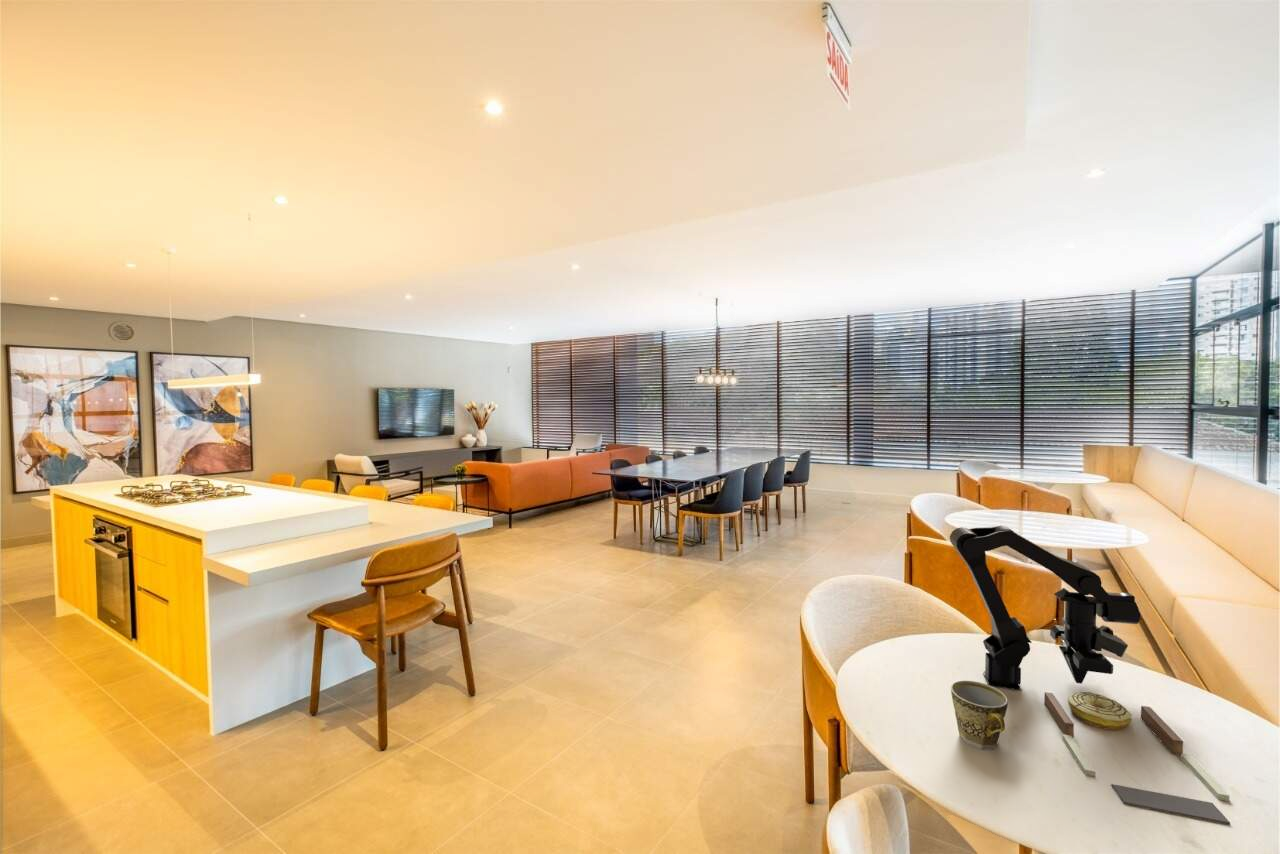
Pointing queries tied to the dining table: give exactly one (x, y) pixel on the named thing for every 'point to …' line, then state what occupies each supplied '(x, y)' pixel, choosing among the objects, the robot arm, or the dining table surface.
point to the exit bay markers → (1187, 759)
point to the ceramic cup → (979, 713)
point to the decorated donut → (1099, 710)
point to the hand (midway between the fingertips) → (1078, 682)
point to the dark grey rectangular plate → (1170, 804)
